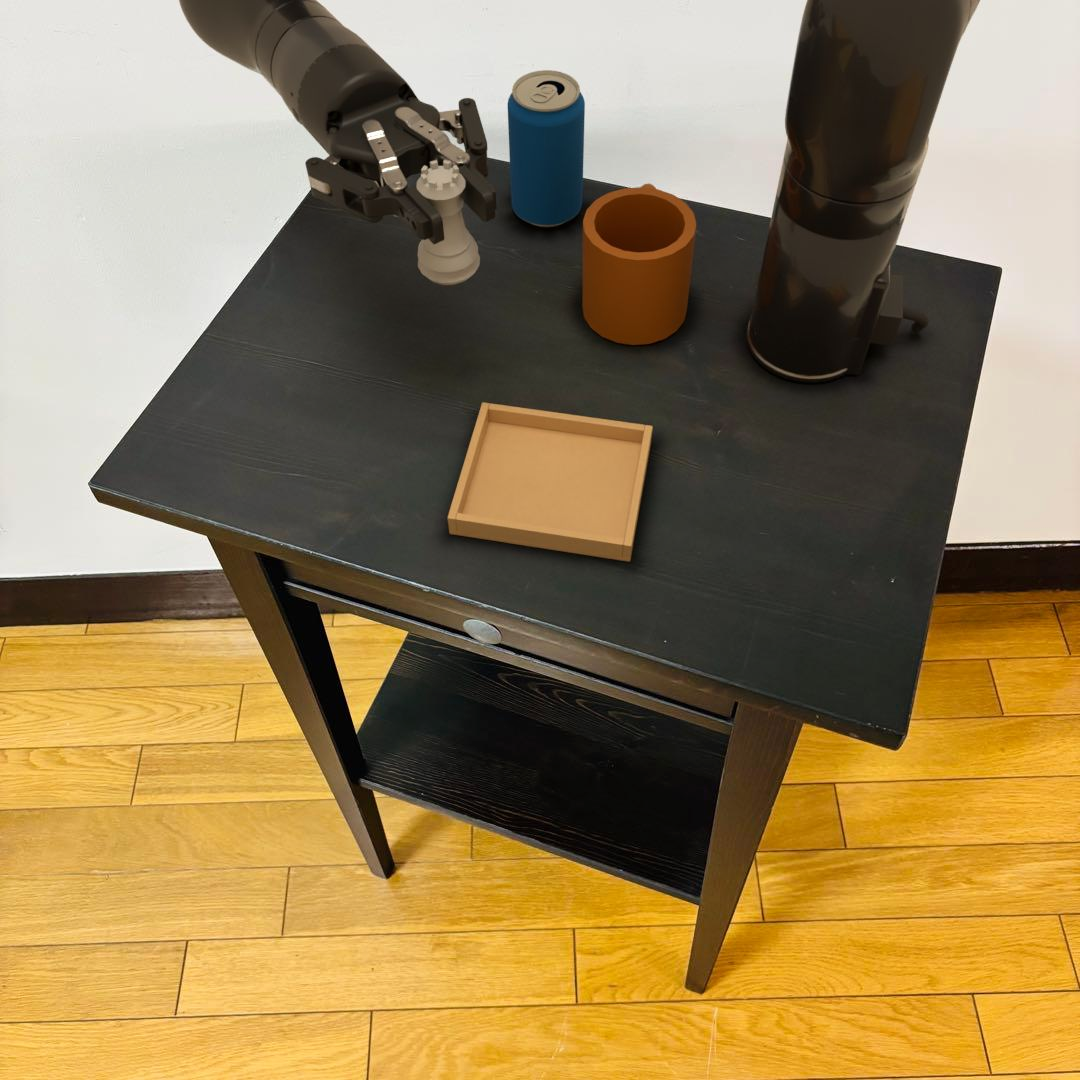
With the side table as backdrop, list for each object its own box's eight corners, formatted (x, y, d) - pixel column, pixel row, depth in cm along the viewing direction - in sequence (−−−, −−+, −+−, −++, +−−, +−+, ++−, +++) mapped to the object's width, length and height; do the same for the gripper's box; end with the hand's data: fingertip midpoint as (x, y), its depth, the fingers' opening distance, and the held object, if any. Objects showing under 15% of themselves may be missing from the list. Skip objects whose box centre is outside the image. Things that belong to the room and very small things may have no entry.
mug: (711, 266, 93) (724, 178, 86) (667, 358, 87) (677, 272, 79) (614, 241, 95) (619, 153, 88) (565, 329, 89) (565, 242, 81)
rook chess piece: (492, 260, 76) (487, 164, 70) (456, 296, 74) (447, 202, 68) (442, 237, 78) (432, 142, 71) (405, 273, 76) (391, 178, 69)
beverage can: (595, 202, 98) (599, 81, 88) (558, 241, 95) (558, 121, 85) (536, 179, 100) (534, 59, 90) (498, 216, 97) (491, 96, 87)
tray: (651, 442, 82) (653, 425, 80) (630, 562, 75) (631, 546, 74) (483, 419, 83) (482, 401, 82) (449, 534, 77) (447, 517, 75)
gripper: (241, 77, 73) (361, 213, 64) (420, 13, 77) (554, 133, 69) (266, 170, 79) (378, 305, 71) (430, 106, 83) (554, 226, 75)
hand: (464, 219), depth 70 cm, fingers closed on rook chess piece, 3 cm apart
